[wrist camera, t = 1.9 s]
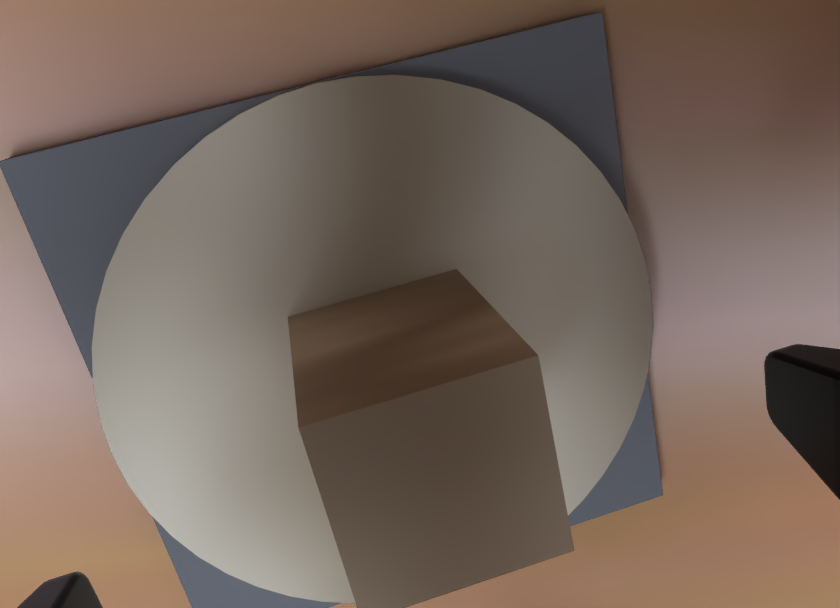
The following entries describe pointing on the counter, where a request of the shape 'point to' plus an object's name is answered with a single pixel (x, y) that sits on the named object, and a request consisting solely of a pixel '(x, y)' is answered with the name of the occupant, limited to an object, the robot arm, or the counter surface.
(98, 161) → the mat
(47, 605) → the robot arm
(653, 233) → the counter surface
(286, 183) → the lid
